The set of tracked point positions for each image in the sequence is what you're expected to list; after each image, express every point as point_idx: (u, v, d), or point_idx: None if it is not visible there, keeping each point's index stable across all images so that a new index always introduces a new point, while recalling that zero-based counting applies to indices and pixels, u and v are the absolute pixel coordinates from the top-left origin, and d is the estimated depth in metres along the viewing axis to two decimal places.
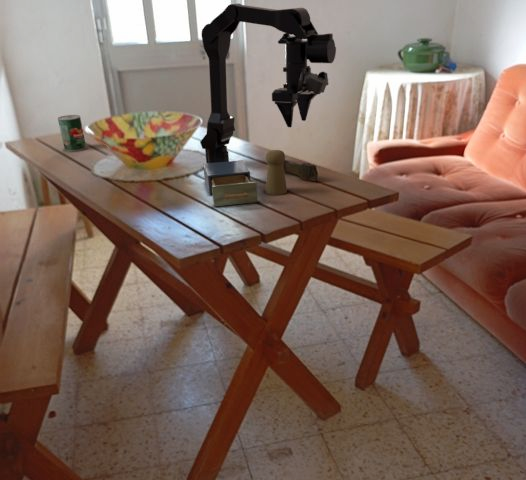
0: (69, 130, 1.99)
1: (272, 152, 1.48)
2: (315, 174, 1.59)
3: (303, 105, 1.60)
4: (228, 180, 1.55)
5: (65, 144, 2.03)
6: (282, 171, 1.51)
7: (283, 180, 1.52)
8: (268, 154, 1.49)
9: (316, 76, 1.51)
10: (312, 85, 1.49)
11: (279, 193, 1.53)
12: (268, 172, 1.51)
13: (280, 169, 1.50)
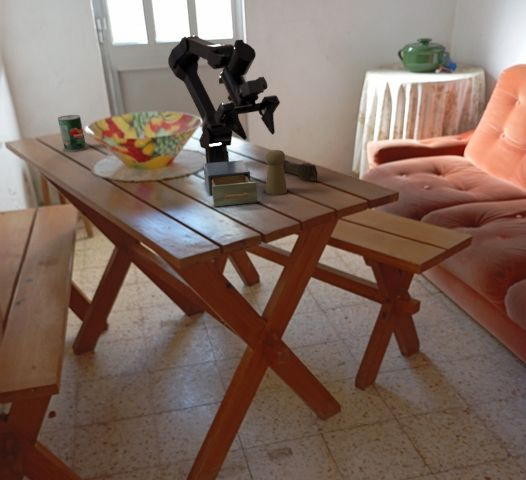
0: (69, 130, 1.99)
1: (272, 152, 1.48)
2: (315, 174, 1.59)
3: (267, 121, 1.57)
4: (228, 180, 1.55)
5: (65, 144, 2.03)
6: (282, 171, 1.51)
7: (283, 180, 1.52)
8: (268, 154, 1.49)
9: None
10: (244, 89, 1.48)
11: (279, 193, 1.53)
12: (268, 172, 1.51)
13: (280, 169, 1.50)
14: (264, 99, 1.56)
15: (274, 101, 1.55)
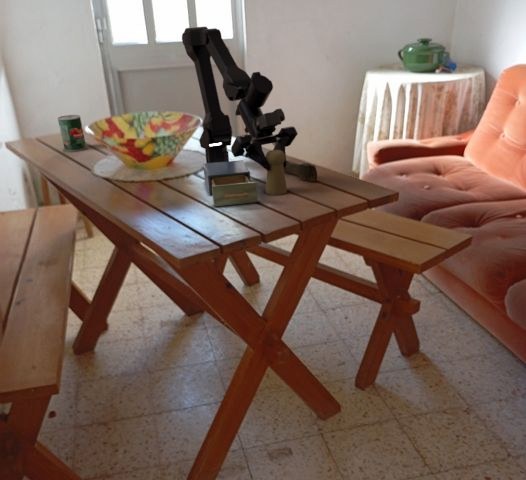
0: (69, 130, 1.99)
1: (272, 152, 1.48)
2: (314, 174, 1.59)
3: None
4: (228, 180, 1.55)
5: (65, 144, 2.03)
6: (282, 171, 1.51)
7: (283, 180, 1.52)
8: (268, 154, 1.49)
9: None
10: (261, 122, 1.46)
11: (279, 193, 1.53)
12: (268, 172, 1.51)
13: (280, 169, 1.50)
14: (281, 130, 1.53)
15: (292, 132, 1.52)
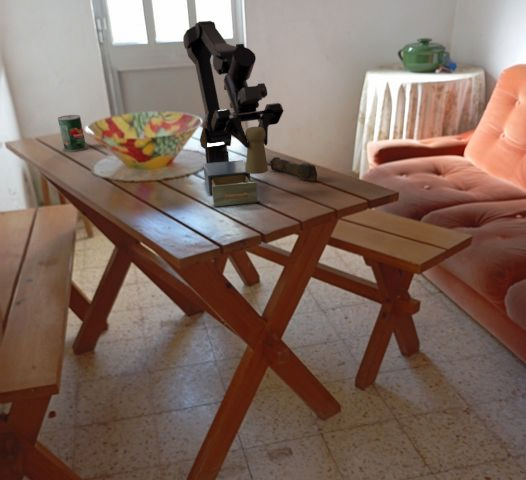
0: (69, 130, 1.99)
1: (251, 128, 1.43)
2: (314, 174, 1.59)
3: None
4: (228, 180, 1.55)
5: (65, 144, 2.03)
6: (262, 149, 1.45)
7: (263, 159, 1.46)
8: (247, 130, 1.43)
9: None
10: (241, 96, 1.41)
11: (258, 172, 1.47)
12: (247, 149, 1.46)
13: (259, 147, 1.44)
14: (266, 107, 1.47)
15: (276, 109, 1.46)
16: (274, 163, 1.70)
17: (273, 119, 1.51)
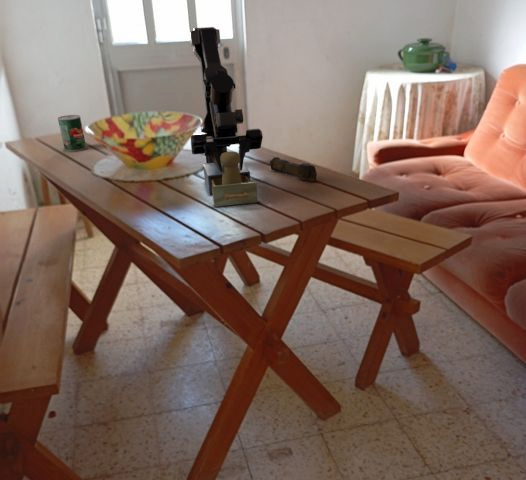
0: (69, 130, 1.99)
1: (225, 153, 1.44)
2: (314, 174, 1.59)
3: (239, 155, 1.48)
4: None
5: (65, 144, 2.03)
6: (235, 174, 1.46)
7: None
8: (221, 155, 1.45)
9: None
10: (217, 121, 1.42)
11: None
12: (222, 174, 1.48)
13: (232, 171, 1.46)
14: (246, 132, 1.47)
15: (255, 135, 1.46)
16: (274, 163, 1.70)
17: (256, 144, 1.52)
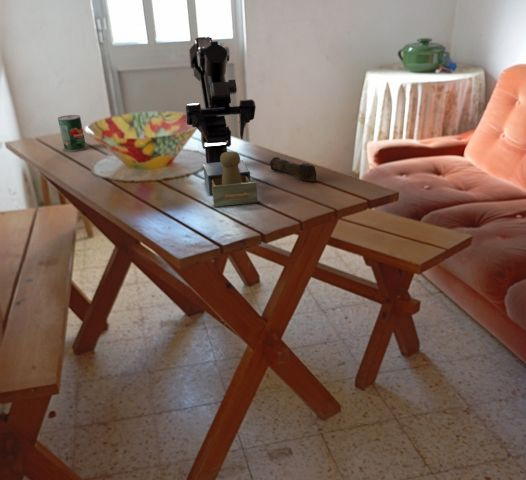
0: (69, 130, 1.99)
1: (225, 153, 1.44)
2: (314, 174, 1.59)
3: None
4: None
5: (65, 144, 2.03)
6: (235, 174, 1.46)
7: None
8: (221, 155, 1.45)
9: None
10: (211, 91, 1.47)
11: None
12: (222, 173, 1.48)
13: (232, 171, 1.46)
14: (240, 103, 1.52)
15: (248, 105, 1.50)
16: (274, 163, 1.70)
17: None
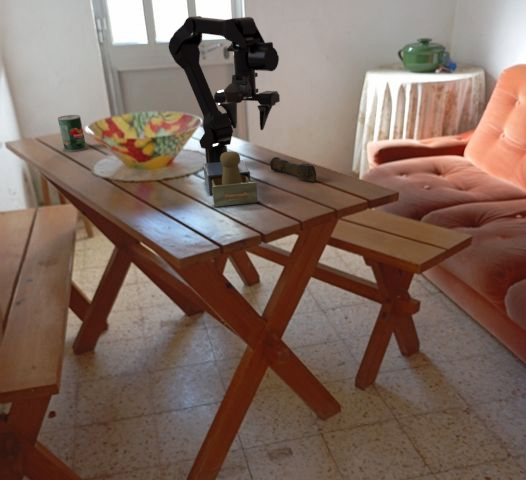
0: (69, 130, 1.99)
1: (225, 153, 1.44)
2: (313, 174, 1.59)
3: None
4: None
5: (65, 144, 2.03)
6: (235, 174, 1.46)
7: None
8: (221, 155, 1.45)
9: (238, 86, 1.53)
10: None
11: None
12: (222, 173, 1.48)
13: (232, 171, 1.46)
14: None
15: (263, 103, 1.54)
16: (274, 163, 1.70)
17: None
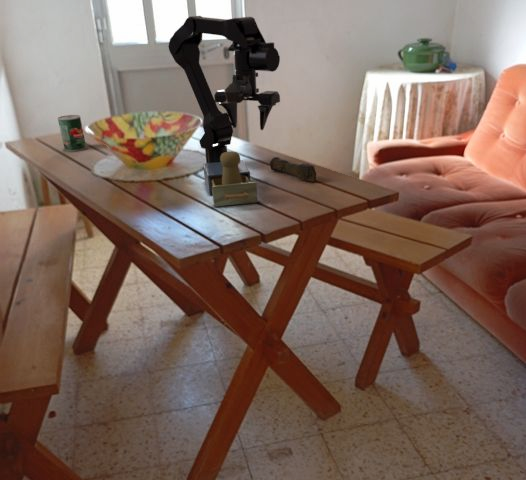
0: (69, 130, 1.99)
1: (225, 153, 1.44)
2: (313, 174, 1.59)
3: None
4: None
5: (65, 144, 2.03)
6: (235, 174, 1.46)
7: None
8: (221, 155, 1.45)
9: (238, 86, 1.53)
10: None
11: None
12: (222, 173, 1.48)
13: (232, 171, 1.46)
14: None
15: (264, 103, 1.54)
16: (274, 163, 1.70)
17: None
